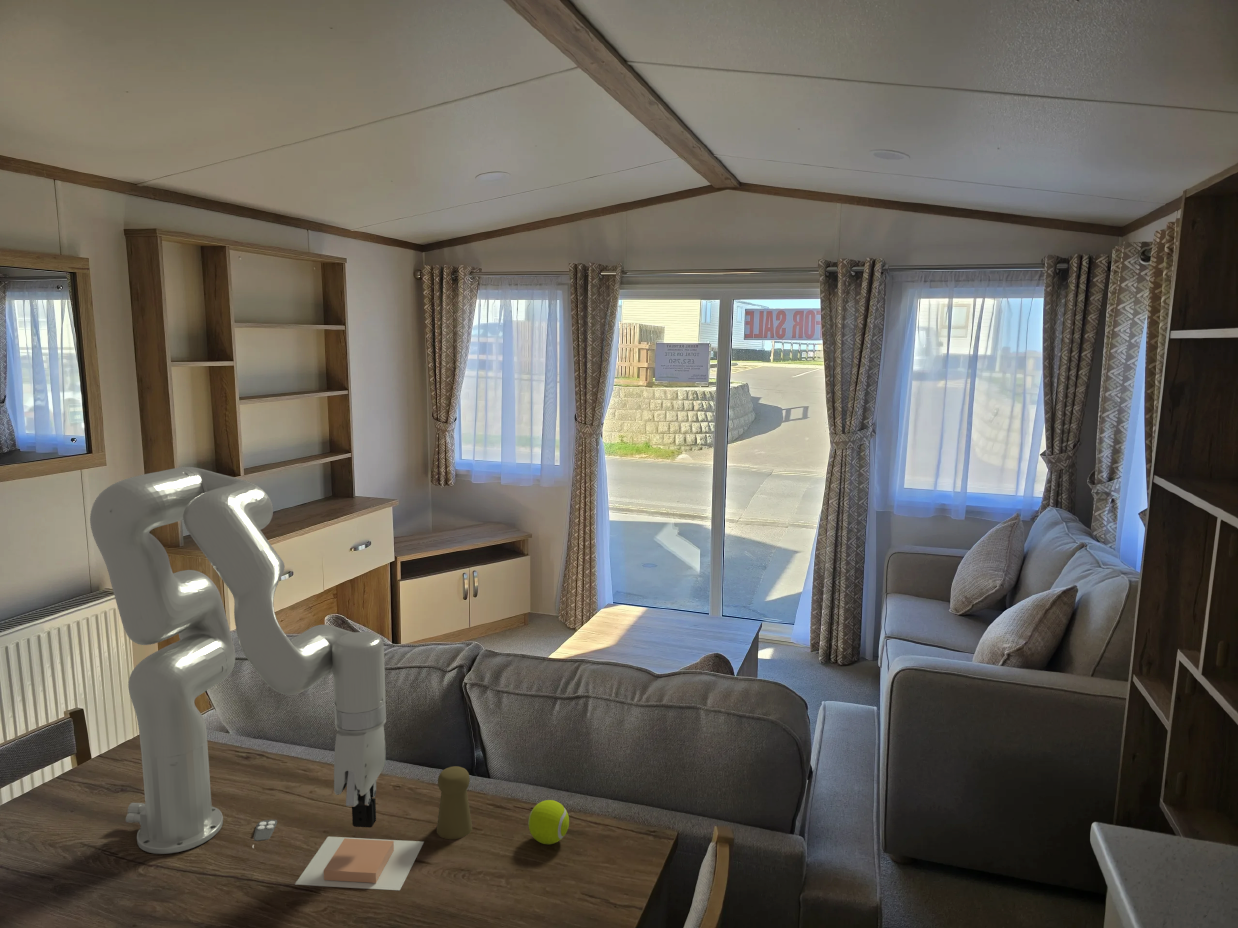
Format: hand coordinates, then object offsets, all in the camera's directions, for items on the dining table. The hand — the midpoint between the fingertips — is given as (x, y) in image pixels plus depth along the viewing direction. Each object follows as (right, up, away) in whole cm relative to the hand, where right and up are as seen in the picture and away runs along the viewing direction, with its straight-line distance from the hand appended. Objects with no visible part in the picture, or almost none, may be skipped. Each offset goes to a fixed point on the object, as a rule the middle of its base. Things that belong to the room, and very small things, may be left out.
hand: (364, 823), depth 130 cm
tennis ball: (+28, -6, +7) cm, 30 cm away
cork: (+12, -5, +9) cm, 16 cm away
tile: (0, -4, +2) cm, 5 cm away
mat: (0, -6, -1) cm, 6 cm away
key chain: (-18, -6, +4) cm, 20 cm away
